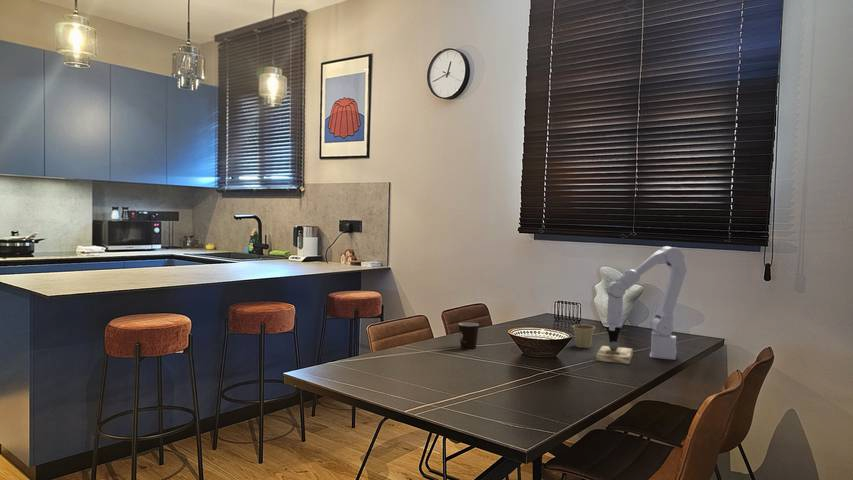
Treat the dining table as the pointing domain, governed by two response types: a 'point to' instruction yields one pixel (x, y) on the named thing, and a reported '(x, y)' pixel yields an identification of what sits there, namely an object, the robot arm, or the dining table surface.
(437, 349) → the dining table surface
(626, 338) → the dining table surface
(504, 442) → the dining table surface
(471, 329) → the coffee mug
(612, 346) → the ball
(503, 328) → the dining table surface
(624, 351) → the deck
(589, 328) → the flower pot
